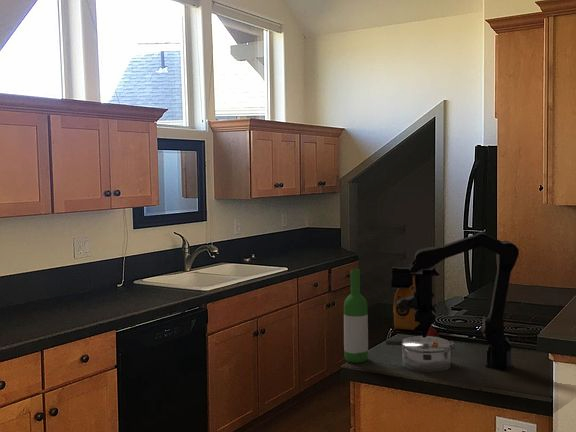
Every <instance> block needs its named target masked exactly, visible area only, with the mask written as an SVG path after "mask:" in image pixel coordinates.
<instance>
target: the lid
mask: <svg viewBox="0 0 576 432" xmlns="http://www.w3.org/2000/svg"><path fill="white" fill-rule="evenodd" d="M385 342H386V345H387V346H401V348H402V347H404V348H405V349H408V350H411V351H416V352H424V353H436V352H443V351H446V350H448V349H450V350H451V349H452V350H455V348H456V345H455V342H454V341H453V340H450V341H449V340H448V339H445V338H442V337H440V336H439V337H432V336H426V338H423V337H422V335H415V336H408V337H405V338H403V339H392V338H391V339H390V338H389V339H387V338H386V340H385Z"/></svg>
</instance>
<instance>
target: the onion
mask: <svg viewBox="0 0 576 432" xmlns="http://www.w3.org/2000/svg"><path fill="white" fill-rule="evenodd" d="M427 336H432V337H439V338H440V335H439V333H438V331H437V330H436V329H435V328H433V327H432V326H431V327H430V329H429V331H428V333H427Z"/></svg>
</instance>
